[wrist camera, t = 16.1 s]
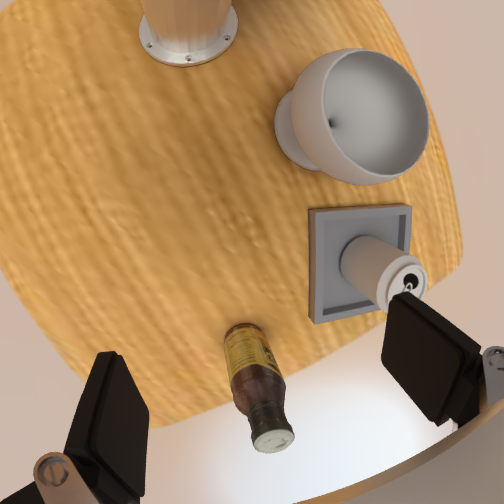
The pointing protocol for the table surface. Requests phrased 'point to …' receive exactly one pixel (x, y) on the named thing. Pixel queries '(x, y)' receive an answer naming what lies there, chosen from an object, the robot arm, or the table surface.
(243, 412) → the sauce bottle
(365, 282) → the can
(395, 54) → the table surface
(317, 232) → the tray
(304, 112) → the chalice
